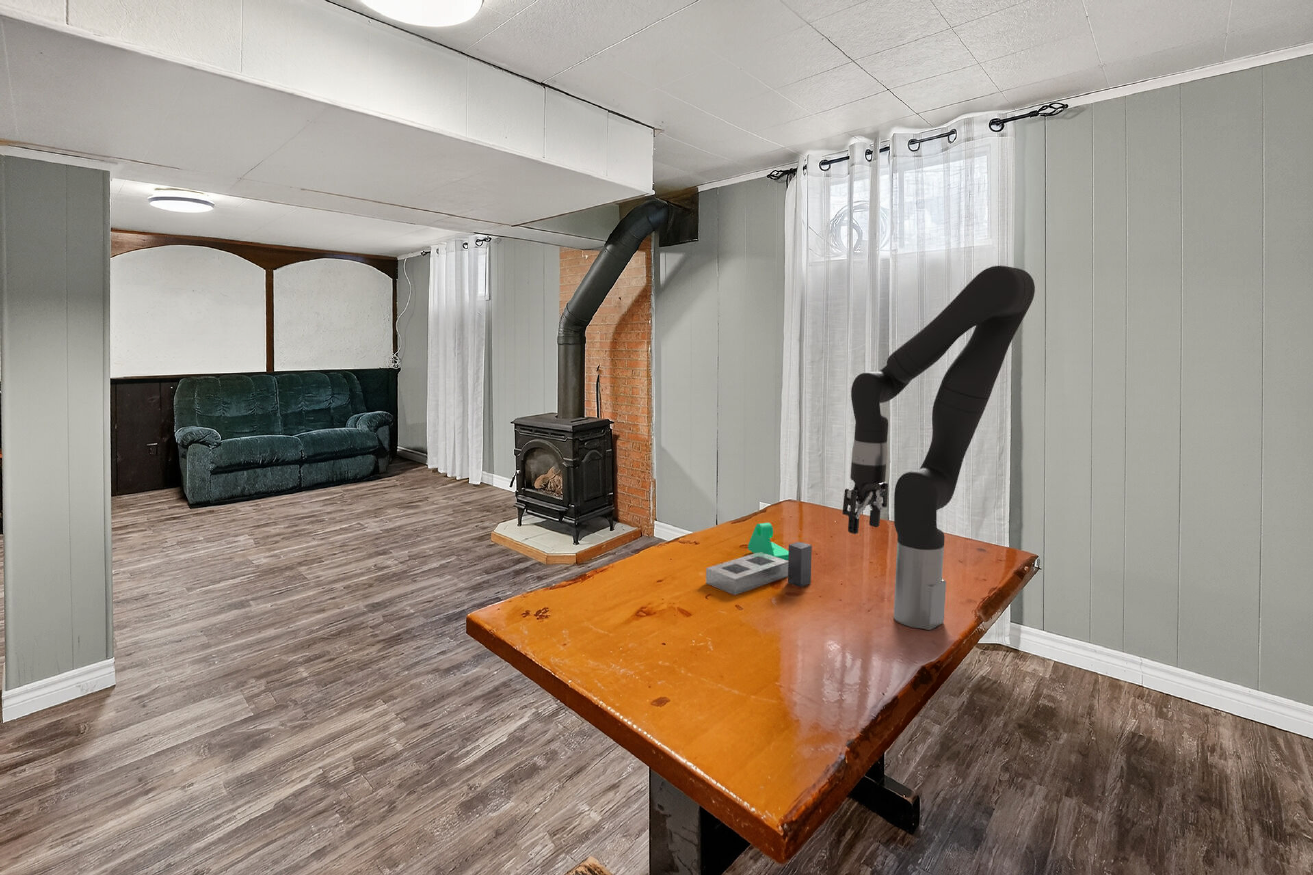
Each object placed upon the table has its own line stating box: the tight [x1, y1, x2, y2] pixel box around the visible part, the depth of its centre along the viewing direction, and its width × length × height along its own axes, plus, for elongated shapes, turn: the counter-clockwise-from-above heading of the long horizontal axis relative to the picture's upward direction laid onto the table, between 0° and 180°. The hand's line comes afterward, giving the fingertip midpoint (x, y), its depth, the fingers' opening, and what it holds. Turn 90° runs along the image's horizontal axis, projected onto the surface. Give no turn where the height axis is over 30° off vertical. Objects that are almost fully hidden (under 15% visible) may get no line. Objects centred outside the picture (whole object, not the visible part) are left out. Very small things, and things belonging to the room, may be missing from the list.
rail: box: [705, 552, 788, 596], centre depth 160 cm, size 10×20×4 cm, turn 129°
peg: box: [787, 541, 813, 589], centre depth 157 cm, size 4×4×10 cm
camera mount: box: [747, 522, 789, 561], centre depth 177 cm, size 12×8×10 cm, turn 21°
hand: (863, 529), depth 144 cm, fingers open, 8 cm apart
